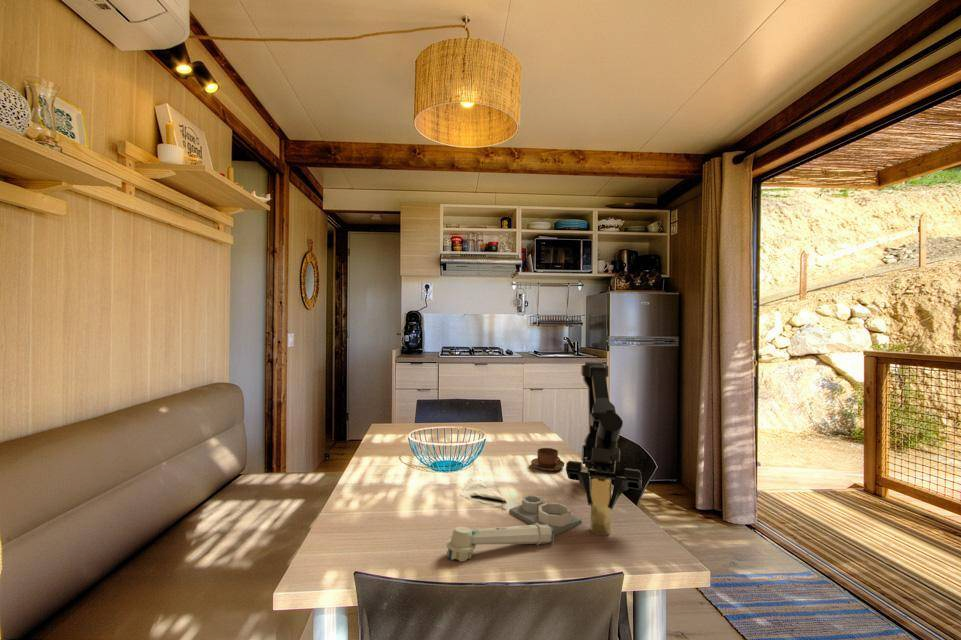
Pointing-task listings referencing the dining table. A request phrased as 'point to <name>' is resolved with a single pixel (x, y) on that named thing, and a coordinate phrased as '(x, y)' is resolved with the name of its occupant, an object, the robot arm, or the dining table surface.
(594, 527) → the brass tumbler cup
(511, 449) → the dining table surface
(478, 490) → the cloth
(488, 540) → the cream long-handled tool
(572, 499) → the dining table surface
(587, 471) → the robot arm
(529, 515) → the board
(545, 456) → the cup and saucer
